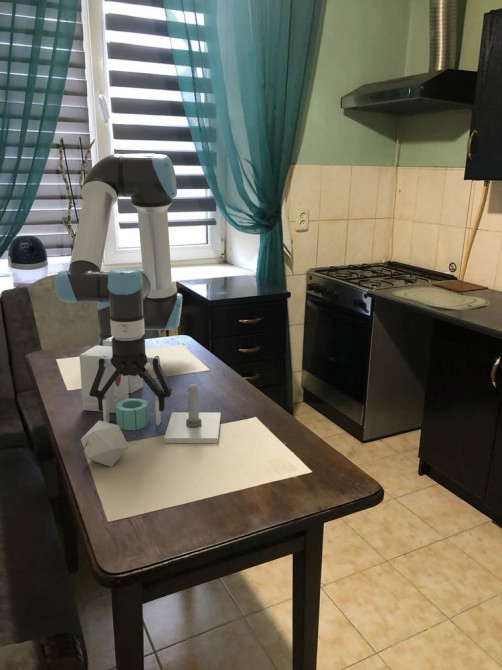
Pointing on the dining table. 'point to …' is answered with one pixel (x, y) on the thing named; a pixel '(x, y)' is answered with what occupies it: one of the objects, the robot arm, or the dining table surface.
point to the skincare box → (133, 381)
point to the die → (104, 443)
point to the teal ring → (132, 414)
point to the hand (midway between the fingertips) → (132, 423)
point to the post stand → (193, 423)
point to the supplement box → (88, 374)
